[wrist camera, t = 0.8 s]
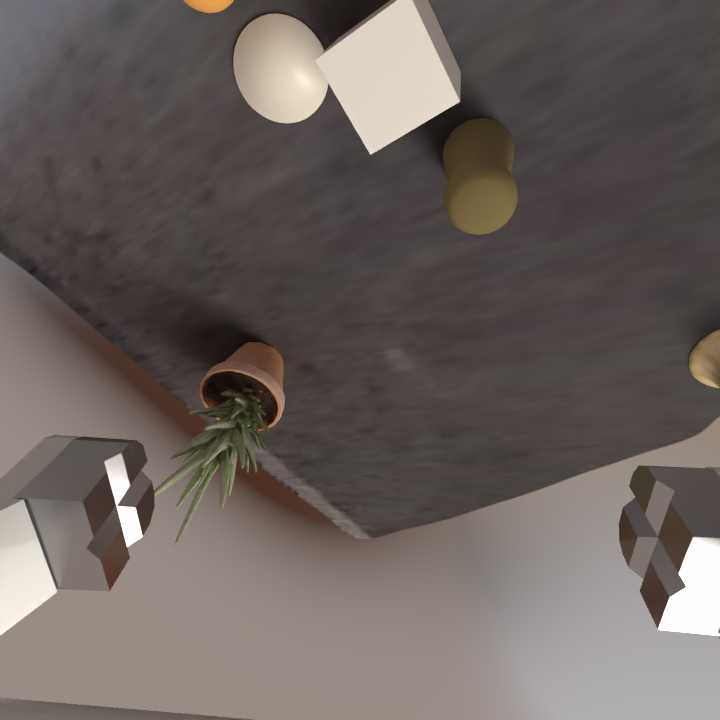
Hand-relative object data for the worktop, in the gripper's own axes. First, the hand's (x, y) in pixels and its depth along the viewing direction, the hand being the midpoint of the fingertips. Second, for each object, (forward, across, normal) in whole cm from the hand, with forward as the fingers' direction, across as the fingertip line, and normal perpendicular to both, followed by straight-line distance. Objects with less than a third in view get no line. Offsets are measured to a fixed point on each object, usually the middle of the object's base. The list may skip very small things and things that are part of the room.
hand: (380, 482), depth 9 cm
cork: (+42, -6, -1) cm, 43 cm away
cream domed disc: (+42, +10, -8) cm, 44 cm away
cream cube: (+41, 0, -9) cm, 42 cm away
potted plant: (+50, +16, +24) cm, 57 cm away
